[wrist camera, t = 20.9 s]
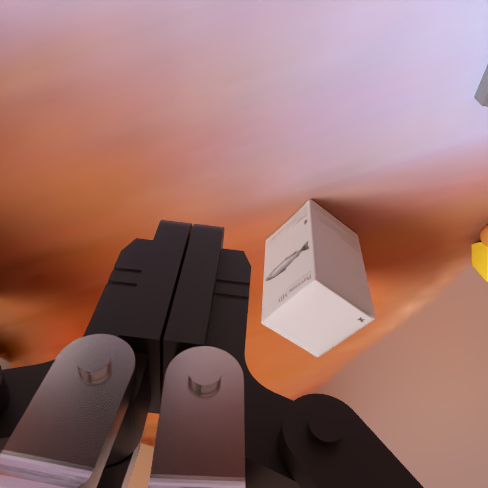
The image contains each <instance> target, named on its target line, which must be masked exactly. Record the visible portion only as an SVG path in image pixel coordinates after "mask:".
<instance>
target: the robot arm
mask: <svg viewBox="0 0 488 488" xmlns="http://www.w3.org/2000/svg"><path fill="white" fill-rule="evenodd" d="M223 239H224V227H216V226H208V225H200V224H194V225H193V226H192V224H190V223H182V222H174V221H166V220H161V221H160V223H159V226H158V229H157V231H156V234H155V237H154V240H146V239H138V238H136V239H135V240H134V241H133V242H131V243H130V244H129V245H128V246H127V247H125V248H124V249H123V250H122V251H121V253H120V255H119V257H118V259H117V262H116V264H115V266H114V270H113V271H112V273H111V275H110V277H109V280H108V284H106V286H105V289H104V291H103V293H102V295H101V298H100V300H99V302H98V304H97V307H96V309H95V311H94V313H93V316H92V318H91V320H90V322H89V325H88V327H87V329H86V331H85V334H84V335H83V337H82V338H79V339H77V340H75V341H73V342H71V343H70V344H69V345H67V346H66V347H65V348H64V349H63V350H62V351H61V352H60V353H59V355H58V356H57V358H56V359H54V360H52V361H49V362H46V363H42V364H37V365H31V366H24V367H18V368H12V369H5V370H2V369H1V366H0V488H127V486H128V483H129V480H130V477H131V474H132V471H133V468H134V465H135V462H136V459H137V456H138V453H139V450H140V444H141V437H142V434H143V430H144V426H145V422H146V418H147V414H148V412H149V413H158V414H159V420H158V427H157V433H156V440H155V447H154V454H153V461H152V467H151V474H150V480H149V485H148V488H423V486H422V485H421V484H420V483H419V482H418V481H417V480H416V479H415V478H414V477H413V475H412V474H411V473H410V472H409V471H408V470H407V469H406V468H405V467H404V466H403V464H401V462H400V461H399V460H398V459H397V458H396V457H395V456H394V455H393V453H392V452H391V451H390V450H389V449H388V448H387V447H386V446H385V445H384V444H383V443H382V441H381V440H380V439H379V438H378V437H377V436H376V435H375V434H374V433H373V432H372V430H371V429H370V428H369V427H368V426H367V425H366V424H365V423H364V422H363V421H362V419H361V418H360V417H359V416H358V415H357V414H356V413H355V412H354V411H353V410H352V409H351V408H350V407H349V406H348V405H347V404H345V403H344V402H342V401H340V400H339V399H337V398H334V397H332V396H329V395H324V394H308V395H304V396H302V397H299V398H297V399H296V400H295V401H293V400H290V399H288V398H286V397H283V396H281V395H279V394H277V393H274V392H272V391H270V390H268V389H267V388H265V387H264V386H262V385H261V384H260V383H259V382H257V381H256V380H255V378H254V377H253V376H252V375H251V373H250V372H249V370H248V368H247V365H246V362H245V354H244V351H245V339H246V326H247V313H248V299H249V288H250V276H251V265H250V263H249V261H248V259H247V257H246V255H245V253H244V251H238V250H230V249H223Z"/></svg>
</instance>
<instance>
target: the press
mask: <svg viewBox="0 0 488 488" xmlns="http://www.w3.org/2000/svg"><path fill="white" fill-rule="evenodd" d="M474 98H475V99H476V100H477V101H478V102H479V103H480V104H481V105H482V106H487V107H488V66H487V68H486V70H485V73H484V75H483V78H482V80H481V82H480V85H479V87H478V90H477V92H476V94H475V97H474Z"/></svg>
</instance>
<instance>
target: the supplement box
mask: <svg viewBox="0 0 488 488" xmlns="http://www.w3.org/2000/svg"><path fill="white" fill-rule="evenodd" d="M374 320H375V313H374V309H373V304H372V299H371V295H370V290H369V285H368V280H367V276H366V271H365V266H364V262H363V257H362V252H361V247H360V243H359V238H358V235H357V234H356V233H355V232H353V231H352V230H351V229H349V228H348V227H347V226H346V225H344V224H343V223H342V222H340V221H339V220H338V219H336V218H335V217H334V216H333V215H331V214H330V213H329V212H327V211H326V210H325V209H323V208H322V207H321V206H319V205H318V204H317V203H315V202H314V201H313V200H311V199H310V200H308V201H307V202H306V204H305V205H304V206H303V207H302V208H301V209H300V210H299V211H298V212H297V213H296V214H294V215H293V216H292V217H291V218H290V219H289V220H288V221H287V222H286V223H285V224H284V225H283V226H281V227H280V228H279V229H278V230H277V231H276V232H275V233H274V234H272V235H271V236H270V237H269V238H268V239H267V240H266V248H265V263H264V283H263V303H262V321H261V323H262V324H263V325H265V326H267V327H268V328H270V329H272V330H273V331H275V332H277V333H278V334H280V335H282V336H283V337H285V338H286V339H288V340H290V341H291V342H293V343H295V344H297V345H298V346H300V347H301V348H303V349H304V350H306V351H308V352H309V353H311V354H312V355H314V356H315V357H319V356H321V355H323V354H324V353H326V352H327V351H328V350H330V349H331V348H333V347H334V346H336V345H337V344H339V343H340V342H342V341H343V340H345V339H347V338H348V337H350V336H351V335H352V334H354V333H355V332H357V331H358V330H360V329H361V328H363V327H364V326H366V325H367V324H369V323H370V322H372V321H374Z"/></svg>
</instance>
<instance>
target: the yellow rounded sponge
mask: <svg viewBox="0 0 488 488" xmlns="http://www.w3.org/2000/svg"><path fill="white" fill-rule="evenodd" d="M480 239H481V241H482V242H479V243H475V244H472V266H473V267H474V268H475V269H476V270H477V271H478V272H479V273H480V275H482V277H483V278H484V279H485V280H486V281H487V282H488V225H486V226H485V227H484V228H483V229H482V231H481V232H480Z"/></svg>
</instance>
